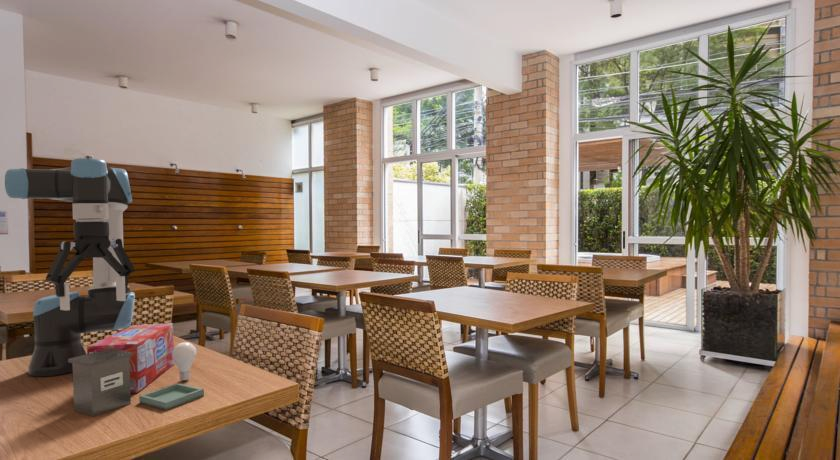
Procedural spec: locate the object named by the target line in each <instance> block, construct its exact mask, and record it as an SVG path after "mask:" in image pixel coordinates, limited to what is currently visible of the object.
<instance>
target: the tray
mask: <svg viewBox="0 0 840 460" xmlns="http://www.w3.org/2000/svg"><path fill="white" fill-rule="evenodd" d="M204 396H205V390H204V388H201V387H196V386H193V385H188V384H183V383H179V382H178V383H177V382H176V383H174V384H171V385H167V386H165V387H162V388H159V389H156V390H152V391H150V392H148V393H144V394H141V395H139V398H138V399H139V404H142V405H145V406H149V407H152V408H157V409H161V410H164V411H168V410H171V409H173V408H177V407H179V406H181V405H184V404H187V403H190V402H192V401H194V400H196V399H197V400H198V399H200V398H202V397H204Z"/></svg>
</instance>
